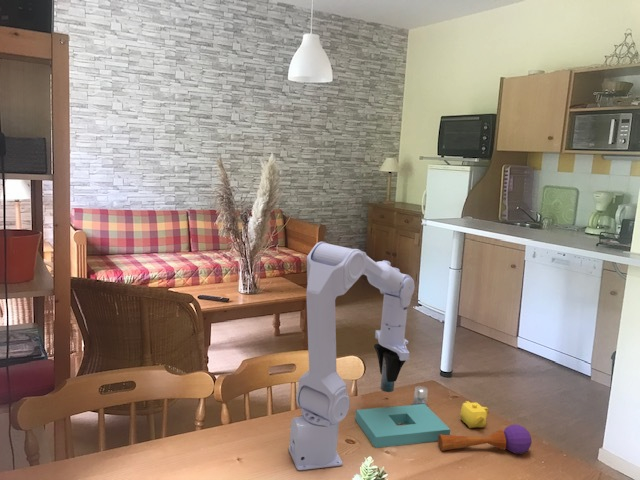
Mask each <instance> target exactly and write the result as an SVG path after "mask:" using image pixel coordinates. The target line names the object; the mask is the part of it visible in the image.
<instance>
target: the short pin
mask: <svg viewBox="0 0 640 480" xmlns="http://www.w3.org/2000/svg"><path fill="white" fill-rule="evenodd" d="M428 392H429V389H428V388H427V387H425V386H423V385H422V386H421V385H417V386H415V387H414V396H413V402H412V403H413V404H412V405H418V404H425V405H426V406H427V403H428V396H429V395H428Z"/></svg>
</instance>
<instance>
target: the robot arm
mask: <svg viewBox="0 0 640 480" xmlns="http://www.w3.org/2000/svg"><path fill="white" fill-rule="evenodd" d="M363 275H364V276H366V279H367V282H368V283H369V284H370V285H371V286H372V287H375V288H376V289H378V290H379V293H380V295H383V302H382V309H381V311H382V312H381V322H380V323H381V324H380V330H379V329H377V330H376V329H375V333H374V338H375V339H376V340H377V342H378V343H375V344H374V345H373V349H374V350H375V352H376V355H377V359H378V360H377V361H378V366H379V368H378V369H379V372H380V375H381V376H382V365H383V355H384V358H385V362H386V377H387V381H388V382H394V381H395V382H397V380H398V377H399V374H400V372H401V369H402V367H403V365H404V364H405V363H406V361H410V353H411V352H410V351H409V350H408V348H407V345H408V344H409V340H407V339H406V338H405V337H406V336H405V335H406V327H407V326H406V324H407V318H408V317H407V316H408V307H409V306H410V304H411V300H412V296H413V294H414V293H415V292H414V291H415V289H416V285H415V280H414V279H413V278H412V276H411V275H410V274H405V273H402V272H401V270H400V269H399V267H398V268H397V267H393V266H392V265H391V262H390V261H389V260H385V259H384V260H382V261H375V260H373V259H372V258H371V257H369V255H367V252H366V251H362V250H360V249H359V248H350V247H345V246H341V245H336V244H331V243H327V242H326V241H318V242H317V243H315V245H314V246H313V247H312V248H311V250H310V252H309V253H308V255H307V256H306V279H307V282H306V283H307V285H306V294H305V295H306V319H307V320H306V321H307V322H306V323H307V324H306V325H307V345H308V346H307V349H308V350H307V351H308V371H305V373H303V374H302V375H301V376H300V377H299V379H298V389H297V391H296V396H295V397H296V399H295V400H296V404H297V406H298V407H299V408H300V414H301V415H300V416H296V417H293V418H292V419H291V421H290V430H289V431H290V433H289V447H288V451H289V453H290V456H291V458H292V461H293V464H294V466H295V468H296V470H297V471H305V470H313V469H322V468H331V467H340V466H342V465H343V463H344V461H342V459H341V457H340V455H339V454H338V453H339V452H337V449H338V439H339V438H338V437H339V428H340V427H339V425H340V423H341V422H342V421H343V420H344V419H345V417H346V416H347V414H348V412H349V411H350V410H349V409H350V396H349V394H348V391H347V384H346V382H345V381H344V380H343V378H342V377H341V376H340V374H339V373H338V372H337V334H336V333H337V331H336V330H337V329H336V328H337V326H336V325H337V323H336V322H337V321H336V299H337V297H339V296H344V295H345V294H346V293H347V292H348V291H349V290H350V288H352V286H353V285H354V284H355V283H356V282H357V281H358V280H359V279H360V278H361V276H363ZM384 351H391V352H385V353H384ZM395 382H394V383H395ZM343 466H344V465H343Z"/></svg>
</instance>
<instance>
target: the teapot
mask: <svg viewBox="0 0 640 480" xmlns="http://www.w3.org/2000/svg"><path fill="white" fill-rule="evenodd" d="M460 409H461V410H460V415H459V416H460V419H461V420H462V422H463V423H465V425H467V428H468V429H473V428H480V429H482V428H483V427H486V425H487V417H488V416H489V413H488V412H489V408H488V407H487V406H482V405H481V404H479V403H478V402H470V401H469V400H465V401H464V402H462V404H461V407H460Z"/></svg>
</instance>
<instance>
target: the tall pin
mask: <svg viewBox="0 0 640 480" xmlns="http://www.w3.org/2000/svg"><path fill="white" fill-rule="evenodd" d="M385 352H391V351H384V353H385ZM395 382H396V381H394V382H388V381H387V377H386V362H385V358H384V355H383V365H382V375H381V378H380V390H381V391H382V392H384V393H385V392H386V393H392V392H394V389H395Z"/></svg>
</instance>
